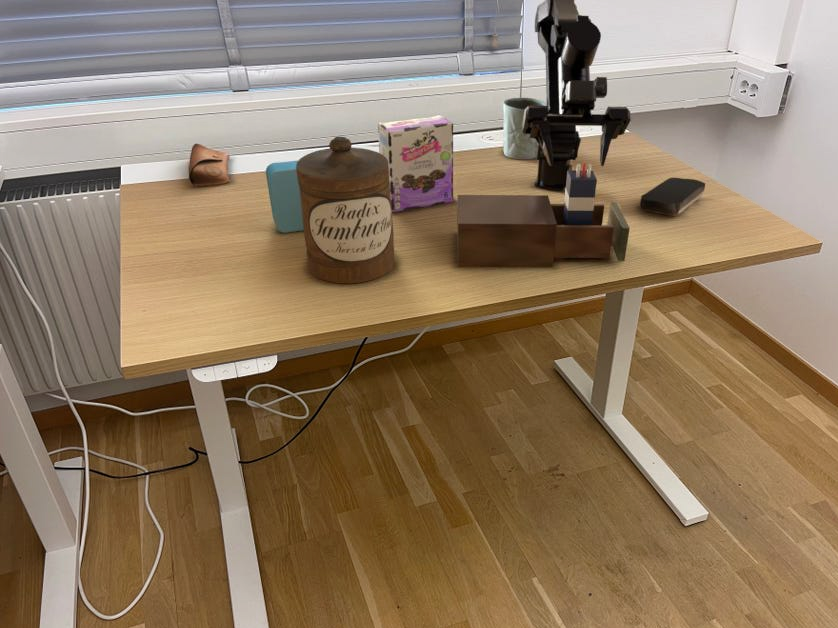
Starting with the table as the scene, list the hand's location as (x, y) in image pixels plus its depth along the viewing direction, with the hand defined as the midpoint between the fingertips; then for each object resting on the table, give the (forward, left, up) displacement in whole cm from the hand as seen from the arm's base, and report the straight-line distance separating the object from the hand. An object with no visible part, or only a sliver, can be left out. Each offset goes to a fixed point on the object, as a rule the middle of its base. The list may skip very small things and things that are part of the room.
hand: (577, 165), depth 125 cm
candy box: (-33, +2, -14) cm, 36 cm away
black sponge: (+15, +24, -14) cm, 32 cm away
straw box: (+2, -5, -12) cm, 13 cm away
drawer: (+3, -5, -13) cm, 14 cm away
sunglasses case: (-83, -2, -14) cm, 84 cm away
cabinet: (-9, -11, -14) cm, 20 cm away
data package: (-47, -17, -14) cm, 52 cm away
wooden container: (-31, -27, -14) cm, 44 cm away
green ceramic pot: (-24, +40, -14) cm, 49 cm away
